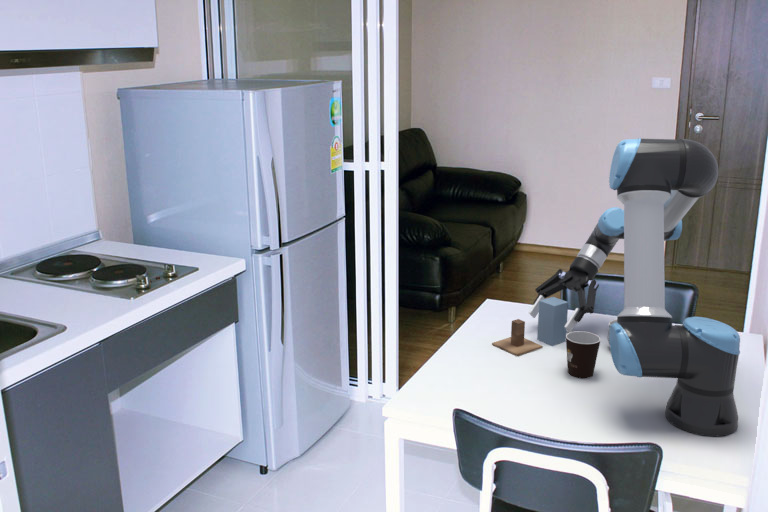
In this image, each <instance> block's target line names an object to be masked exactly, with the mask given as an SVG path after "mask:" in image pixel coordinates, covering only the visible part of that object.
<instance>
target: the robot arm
mask: <svg viewBox="0 0 768 512" xmlns="http://www.w3.org/2000/svg"><path fill="white" fill-rule="evenodd" d="M608 178H609V180H608V183H609V189H611V190H613V191H616V198H617V199H618V201H620V203H622V205H623V209H622V208H620V207H617V206H616V207H610V208H608V209H606V210H605V211H604V212H603V213H602V214H601V215H600V216H599V219H598V221H597V223H596V225H595V226H594V229H593V230H592V232H591V233H590V234H589V236H588V238H587V240H586V241H585V243H584V244H583V245H582V247H581V249H580V250H579V251H578V253H577V255H576V256H575V258H574V259H573V260H572V263H571V264H570V265H569V269H568V271H567V272H565V271H563V269H561V268H559V269H558V270H557V271H556V272H555V274H553V275H552V276H551V277H549V278H548V279H547V280H545V281H544V282H542V283H541V284H540V285H539V286H537V287H536V288H535V292H536V294H537V296H536V298H535V299H534V301H533V303H532V304H533V306H532V307H531V308H530V310H529V312H528V314H529V315H530V316H531V317H532V318H533V319H535V318H536V317H537V315H539V301H540V300H543V299H547V298H550V296H551V297H552V296H553V295H554V294H557V293H558V292H561V291H562V290H567V289H568V290H569V291H574V292H576V293H577V298H578V305H579V306H578V307H576V308H575V309H574V311H573V312H572V314H571V316H570V317H569V318H568V319H567V323H566V325H565V326H564V327H565V328H566V331H567V333H570V332H573V329H574V328H575V326H576V325H577V324H578V323H580V322H581V321H582V319H583V318H584V316H585V315H586V314H590V315H591V314H594V311H595V306H596V294H597V290H598V289H599V283H598V282H597V280H596V279H595V277H596V275H597V274H598V273H599V270H600V269H601V267H602V266H603V265H604V262H606V259H608V257H609V255H610V253H611V252H612V251H613V249H614V248H615V246H616V245H617V243H618V242H619V240H623V247H624V248H623V250H624V251H623V258H624V259H623V267H624V268H623V272H624V273H623V286H624V287H623V291H624V293H623V295H624V296H623V300H624V301H623V303H624V304H623V306H624V307H623V309H622V310H621V311H620V312H619V313H618V314H617V317H616V319H617V323H616V322H615V323H613V324H611V326H610V329H609V328H608V331H609V332H610V335H609V342H610V345H609V349H610V356H611V359H612V363H613V365H614V368H615V369H616V371H617V372H618V373H619V374H621V375H623V376H626V377H627V376H628V377H637V378H639V379H641V378H660V379H661V378H662V379H663V378H664V379H677V380H676V384H675V386H674V388H673V389H672V392H671V393H670V396H669V397H668V399H667V401H666V404H665V411H664V416H665V418H666V420H667V421H668V422H670V424H672V425H673V426H675V427H676V428H679V429H681V430H683V431H685V432H688V433H691V434H696V435H700V436H706V437H722V436H727V435H731V434H732V433H733V434H734V432H735V431H736V430H737V429H738V424H739V415H738V414H739V413H738V409H737V405H736V404H737V403H736V400H735V395H734V389H735V385H736V384H735V383H736V382H735V381H736V374H737V367H738V362H739V355H740V354H741V350H740V346H741V345H740V343H741V336H740V334H739V331H737V330H736V329H735V328H733V326H731V325H729V324H727V323H724V322H722V321H719V320H716V319H713V318H710V317H704V316H703V317H702V316H690V317H689V316H688V317H686V318H684V319H683V322H682V325H683V326H675V325H676V324H675V325H674V324H673V316H672V315H671V314H670V313H669V312H668V310H666V308H665V307H666V305H665V304H666V301H665V300H666V299H665V298H666V296H665V295H666V291H665V289H666V288H665V241H666V242H667V241H675V240H676V241H677V240H678V239H679V238H680V237H681V235H682V232H683V218H684V217H685V216H686V215H687V213H688V212H689V211H690V210H691V208H692V207H693V206H694V204H695V203H696V202H697V201H698V200H699V198H702V197H704V196H706V195H707V194H709V193H710V192H711V190H712V189H713V188H714V187H715V185H716V184H717V181H718V178H719V165H718V161H717V159H716V157H715V155H714V154H713V153H712V151H711V150H710V148H708V147H707V146H706V145H704V144H702V143H700V142H698V141H695V140H693V139H686V138H684V139H683V138H679V139H675V138H673V139H672V138H671V139H670V138H667V139H665V138H641V137H639V138H633V139H632V138H630V139H628V138H627V139H623V140H621V141H619V143H618V144H617V146H616V148H615V149H614V152H613V155H612V160H611V165H610V171H609V177H608ZM587 287H588V288H587ZM586 288H587V289H588V290H587V295H586ZM586 296H587V297H586ZM609 342H608V343H609Z"/></svg>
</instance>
